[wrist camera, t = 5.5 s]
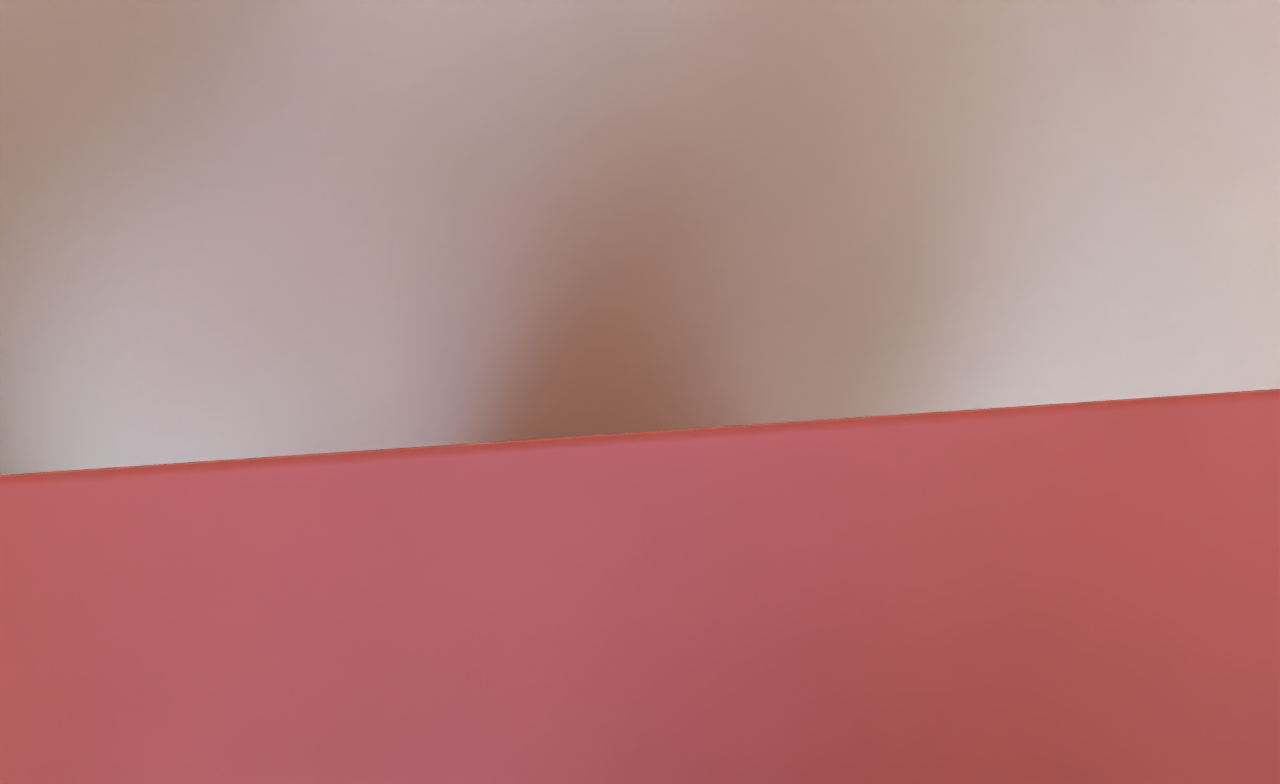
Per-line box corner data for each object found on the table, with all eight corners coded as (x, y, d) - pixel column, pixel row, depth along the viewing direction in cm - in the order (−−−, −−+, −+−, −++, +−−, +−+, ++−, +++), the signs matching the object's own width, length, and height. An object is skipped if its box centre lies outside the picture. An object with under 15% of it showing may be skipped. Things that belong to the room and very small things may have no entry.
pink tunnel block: (812, 715, 16) (1523, 875, 4) (397, 756, 15) (-75, 1075, 4) (795, 574, 16) (1385, 377, 5) (393, 608, 16) (-30, 474, 4)
